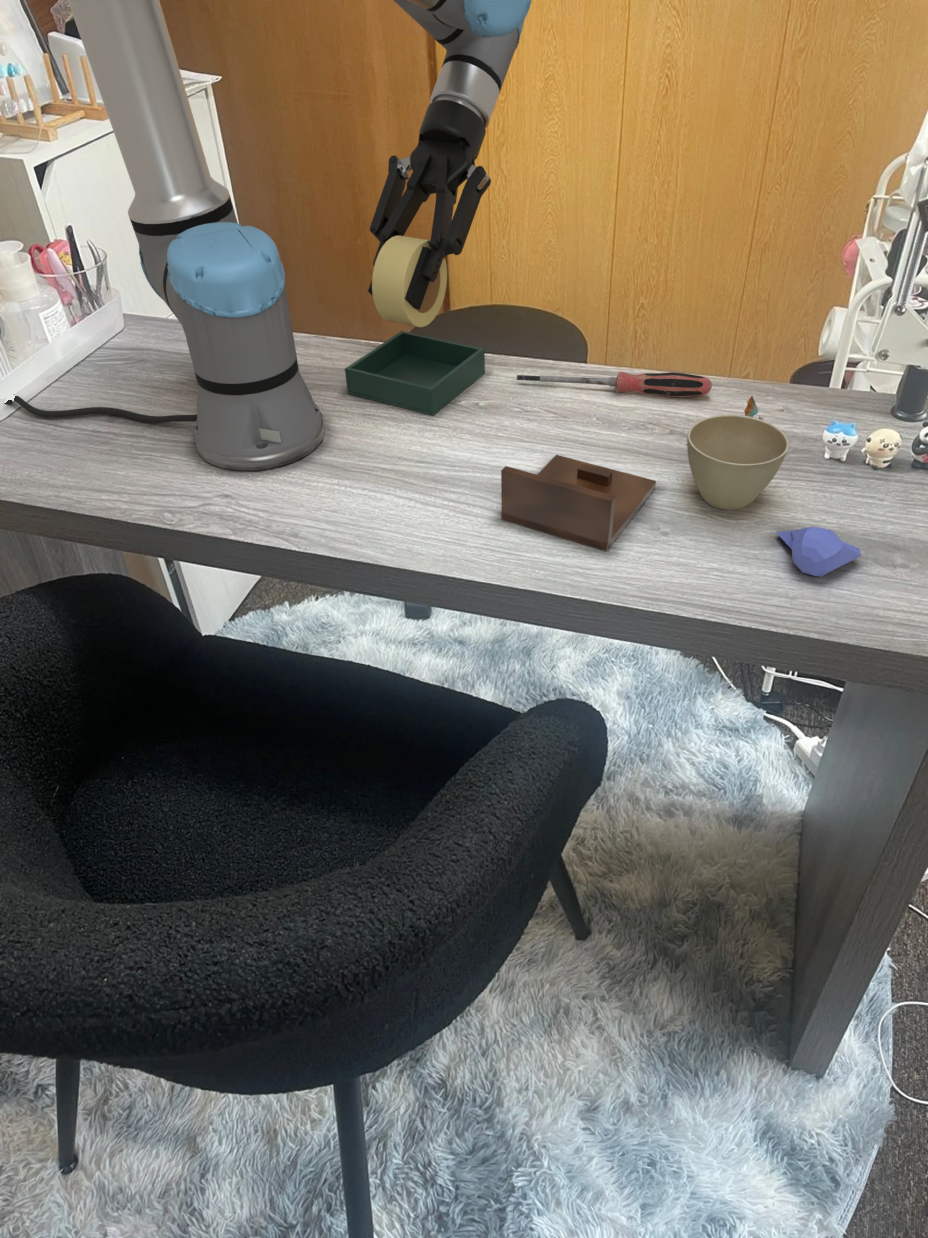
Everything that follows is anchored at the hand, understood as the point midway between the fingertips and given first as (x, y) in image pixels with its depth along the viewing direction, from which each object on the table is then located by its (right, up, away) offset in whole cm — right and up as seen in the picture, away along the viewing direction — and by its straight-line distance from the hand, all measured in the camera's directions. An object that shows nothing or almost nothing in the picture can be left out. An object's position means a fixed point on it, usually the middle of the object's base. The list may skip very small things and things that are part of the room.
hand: (393, 300), depth 107 cm
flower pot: (+37, -26, -12) cm, 46 cm away
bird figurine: (+42, -33, -21) cm, 57 cm away
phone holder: (+21, -26, -12) cm, 36 cm away
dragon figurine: (+39, -18, -4) cm, 44 cm away
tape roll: (+2, -1, +5) cm, 6 cm away
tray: (+2, -7, +11) cm, 13 cm away
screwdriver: (+27, -9, +5) cm, 29 cm away
